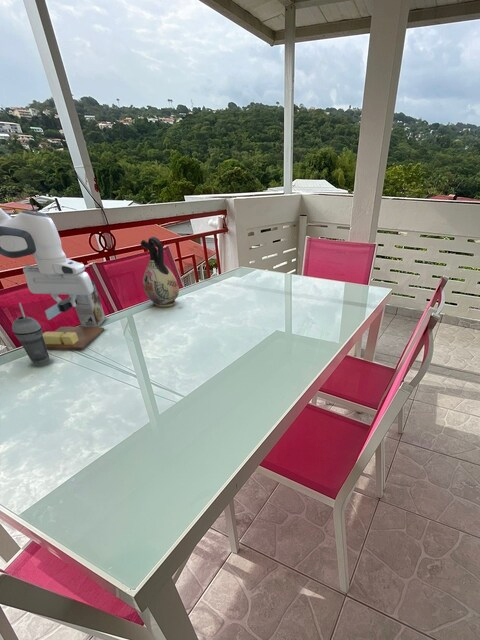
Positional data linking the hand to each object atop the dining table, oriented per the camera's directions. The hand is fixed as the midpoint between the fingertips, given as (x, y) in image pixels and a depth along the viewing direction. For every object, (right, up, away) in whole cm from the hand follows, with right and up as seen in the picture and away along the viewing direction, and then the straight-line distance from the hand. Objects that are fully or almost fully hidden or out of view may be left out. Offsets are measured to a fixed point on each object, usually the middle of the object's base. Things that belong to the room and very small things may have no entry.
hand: (67, 306), depth 119 cm
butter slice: (+2, -13, -1) cm, 13 cm away
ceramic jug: (+19, +12, +39) cm, 45 cm away
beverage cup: (0, -22, -12) cm, 25 cm away
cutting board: (-1, -11, +4) cm, 12 cm away
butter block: (-4, -13, -1) cm, 14 cm away
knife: (0, -3, -3) cm, 4 cm away
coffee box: (-1, -2, +17) cm, 17 cm away
